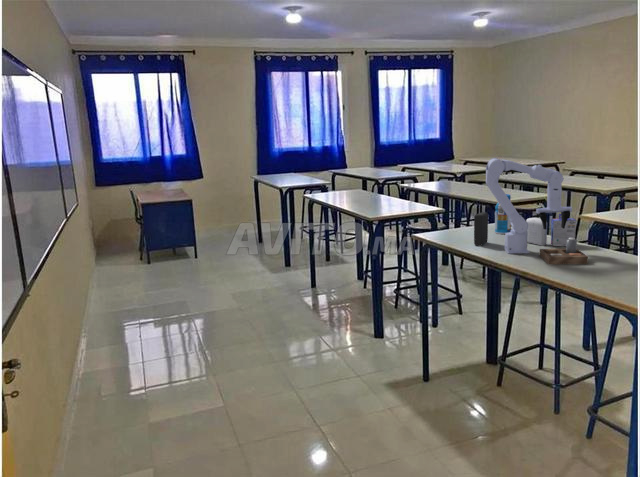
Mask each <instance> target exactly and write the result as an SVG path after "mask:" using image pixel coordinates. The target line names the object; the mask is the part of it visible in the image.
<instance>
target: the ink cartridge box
mask: <svg viewBox="0 0 640 477" xmlns="http://www.w3.org/2000/svg"><path fill="white" fill-rule="evenodd" d="M550 222H551V223H550V225H551V227H550V231H551V232H550V245H551V246H552V247H564V246H565V247H566V240H567V239H569V238H575V239H576V229H577V228H576V226H577V224H576V223H577V220H576V219H575V218H572V217H571V218H570V217H568V219H567V222H566V224H565V228H564V229H563V228H562V227H561V223H562V217H561V213H558V218H551V220H550Z"/></svg>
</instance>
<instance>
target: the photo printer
mask: <svg viewBox="0 0 640 477" xmlns="http://www.w3.org/2000/svg"><path fill="white" fill-rule="evenodd" d="M525 221H526V222H527V223H528V229H527V231H528V236H527V244H528V243H529V244H532V245H538V246H541V247H542V246H546V244H547V236H548V235H547V234H548V222H547V221H546V229H543V224H542V221H541V218H540V217H529V218H527V219H525Z"/></svg>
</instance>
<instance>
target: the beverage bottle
mask: <svg viewBox="0 0 640 477" xmlns="http://www.w3.org/2000/svg"><path fill="white" fill-rule="evenodd" d="M505 194H506V196H507V197H508V199H509V200H510V201H511V198H512V197H511V194H508V193H505ZM496 201H497V200H496ZM494 209H495V211H494V232H495V234H499V235H505V233H509V232H511V229H512V226H511V223H510V219H509V218H508V216H507V215H506V213H505V211H504V210H503V208H502V207H501V205H500V204H499V202H498V201H497V203H496V205H495V207H494Z"/></svg>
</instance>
